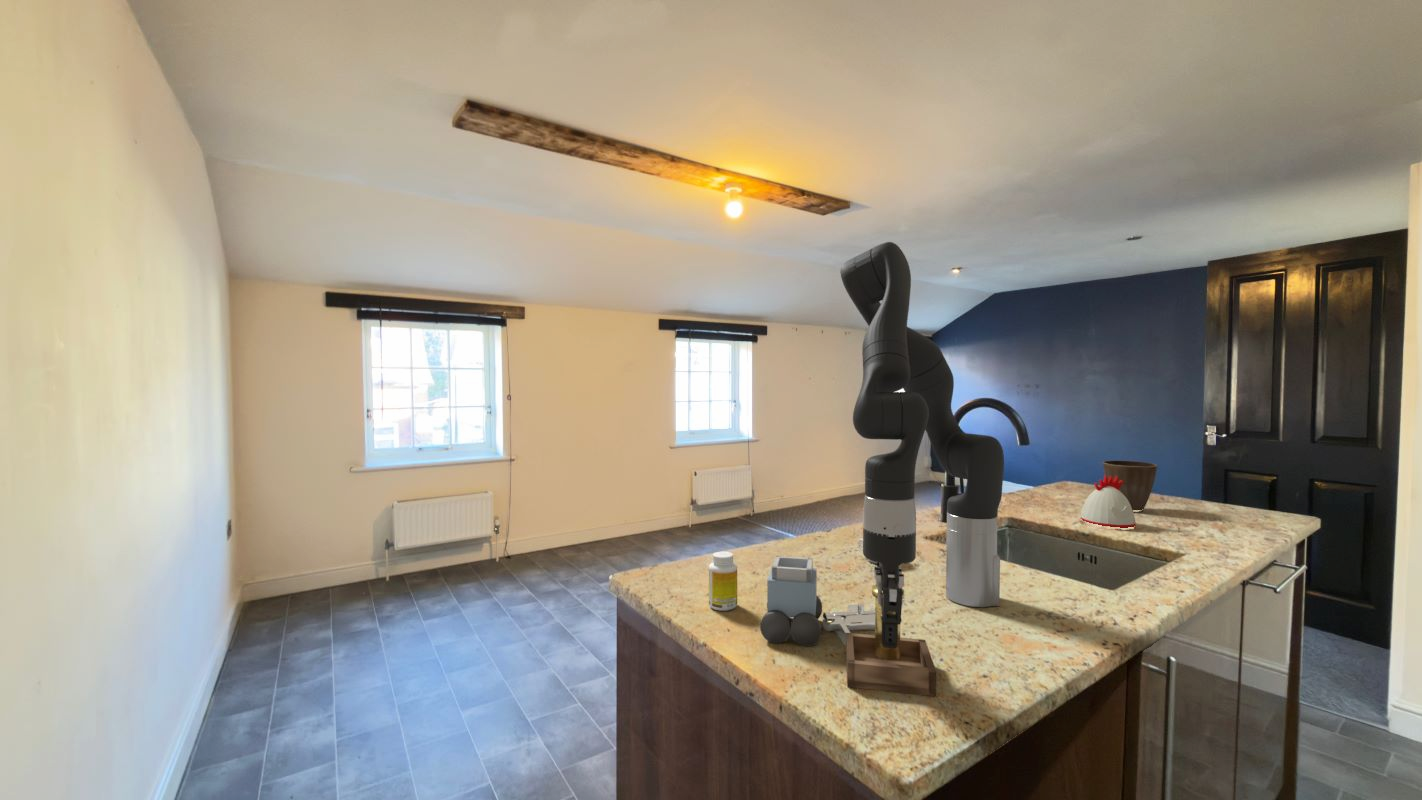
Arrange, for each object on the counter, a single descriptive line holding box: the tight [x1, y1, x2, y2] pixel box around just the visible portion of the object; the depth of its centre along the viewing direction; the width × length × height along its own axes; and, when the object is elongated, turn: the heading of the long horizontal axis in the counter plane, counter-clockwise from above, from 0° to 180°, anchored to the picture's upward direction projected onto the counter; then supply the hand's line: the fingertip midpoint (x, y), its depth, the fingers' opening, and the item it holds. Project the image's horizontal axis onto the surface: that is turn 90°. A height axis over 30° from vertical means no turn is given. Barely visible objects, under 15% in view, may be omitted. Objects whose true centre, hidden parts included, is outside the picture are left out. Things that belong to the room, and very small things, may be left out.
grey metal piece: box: [822, 603, 875, 647], centre depth 97 cm, size 10×4×9 cm
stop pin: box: [871, 584, 905, 660], centre depth 85 cm, size 5×5×10 cm
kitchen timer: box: [1079, 475, 1137, 528], centre depth 174 cm, size 14×14×15 cm
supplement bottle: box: [708, 551, 738, 612], centre depth 110 cm, size 6×6×10 cm
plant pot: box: [1102, 460, 1158, 510], centre depth 193 cm, size 15×15×16 cm
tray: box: [845, 632, 937, 697], centre depth 85 cm, size 12×10×4 cm
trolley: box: [759, 555, 823, 647], centre depth 100 cm, size 10×11×12 cm
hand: (888, 639), depth 85 cm, fingers closed on stop pin, 3 cm apart
